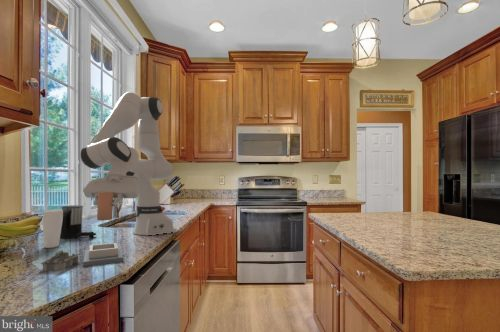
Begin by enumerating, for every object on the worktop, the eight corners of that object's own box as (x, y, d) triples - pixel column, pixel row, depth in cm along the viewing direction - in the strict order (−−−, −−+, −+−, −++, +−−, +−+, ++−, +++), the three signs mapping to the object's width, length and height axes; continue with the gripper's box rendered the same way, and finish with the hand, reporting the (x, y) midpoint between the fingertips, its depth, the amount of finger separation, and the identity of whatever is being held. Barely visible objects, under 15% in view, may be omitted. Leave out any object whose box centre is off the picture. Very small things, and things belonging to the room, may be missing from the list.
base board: (119, 250, 109) (120, 240, 109) (122, 261, 95) (123, 250, 95) (85, 253, 103) (85, 243, 103) (83, 266, 89) (83, 254, 89)
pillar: (108, 217, 103) (109, 191, 103) (114, 219, 100) (116, 192, 100) (94, 219, 99) (95, 192, 99) (100, 220, 96) (102, 192, 96)
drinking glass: (50, 249, 108) (52, 212, 108) (36, 248, 109) (38, 211, 110) (65, 245, 114) (67, 210, 115) (52, 244, 116) (54, 209, 116)
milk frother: (61, 235, 133) (63, 205, 134) (98, 233, 139) (99, 204, 140) (54, 241, 120) (56, 208, 121) (94, 239, 126) (96, 207, 127)
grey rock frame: (61, 261, 95) (62, 249, 95) (82, 262, 95) (83, 250, 95) (36, 271, 84) (37, 258, 84) (60, 272, 84) (61, 259, 84)
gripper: (89, 172, 107) (72, 198, 97) (141, 173, 107) (129, 200, 97) (95, 183, 111) (79, 209, 101) (145, 184, 112) (134, 210, 101)
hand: (104, 205), depth 99 cm, fingers closed on pillar, 5 cm apart
